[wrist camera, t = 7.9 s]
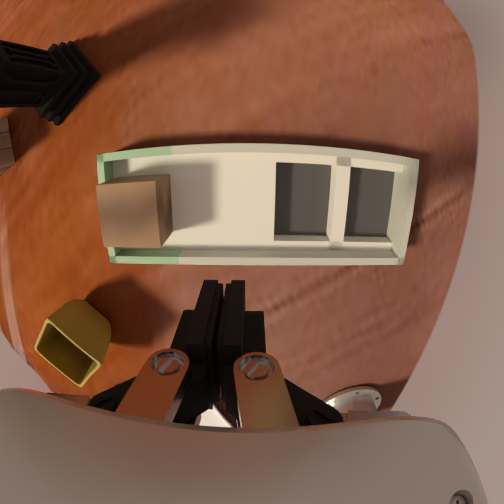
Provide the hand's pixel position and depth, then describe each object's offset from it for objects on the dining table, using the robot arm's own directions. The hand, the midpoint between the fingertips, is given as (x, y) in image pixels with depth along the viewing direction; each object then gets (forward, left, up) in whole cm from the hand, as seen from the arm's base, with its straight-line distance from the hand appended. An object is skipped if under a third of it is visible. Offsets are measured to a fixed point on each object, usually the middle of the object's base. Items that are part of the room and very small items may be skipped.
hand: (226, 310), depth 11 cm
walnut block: (+1, +10, -17) cm, 20 cm away
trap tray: (+1, -2, -19) cm, 19 cm away
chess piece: (+17, +22, -19) cm, 33 cm away
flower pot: (-16, +23, -19) cm, 34 cm away
